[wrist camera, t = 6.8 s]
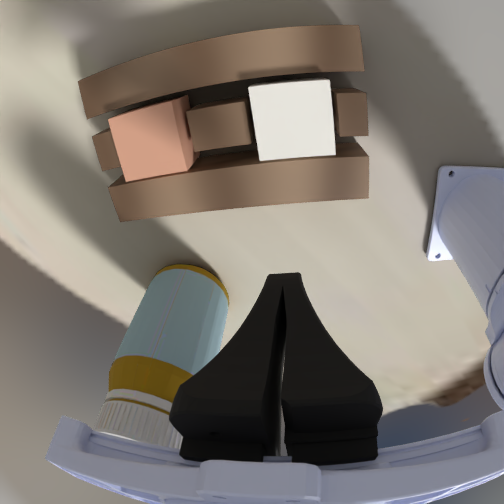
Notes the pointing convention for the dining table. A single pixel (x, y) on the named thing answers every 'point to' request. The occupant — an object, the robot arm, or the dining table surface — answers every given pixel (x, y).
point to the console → (236, 122)
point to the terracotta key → (154, 139)
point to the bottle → (163, 353)
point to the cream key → (293, 118)
